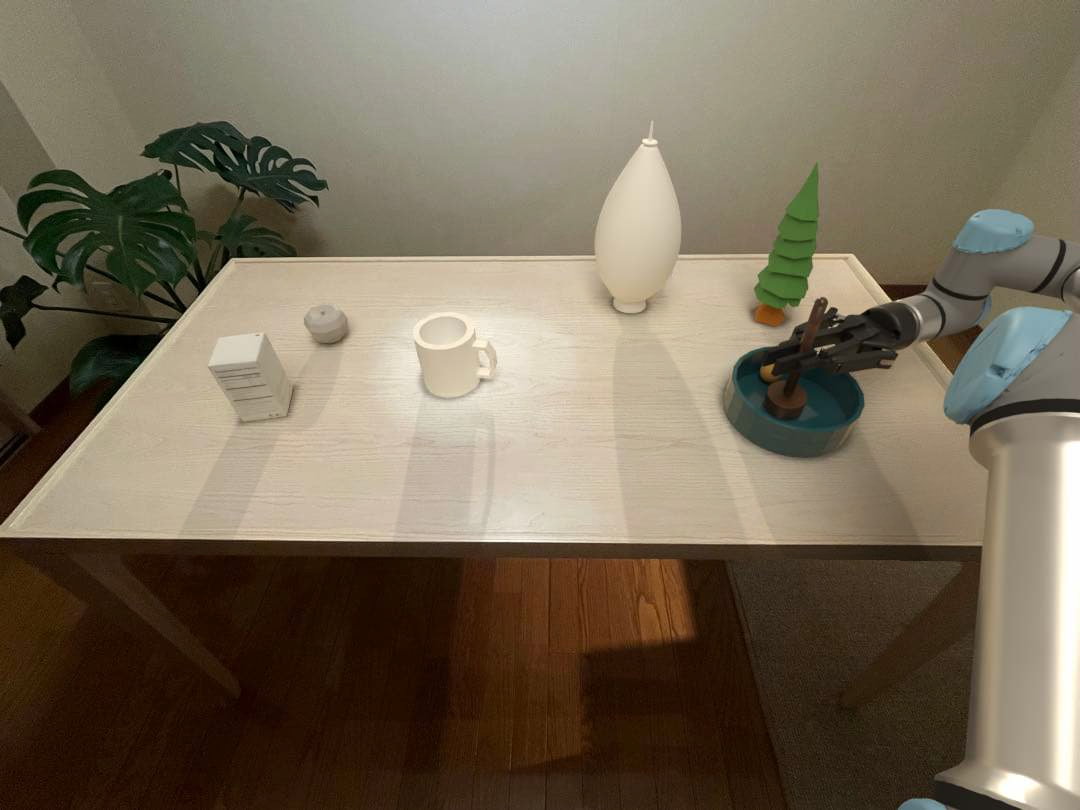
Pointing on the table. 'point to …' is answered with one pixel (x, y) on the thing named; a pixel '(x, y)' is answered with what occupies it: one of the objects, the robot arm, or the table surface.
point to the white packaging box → (251, 376)
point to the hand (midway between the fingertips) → (770, 363)
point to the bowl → (807, 435)
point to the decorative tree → (790, 256)
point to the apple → (326, 323)
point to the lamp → (638, 230)
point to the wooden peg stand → (794, 374)
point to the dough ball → (768, 374)
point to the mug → (451, 354)
